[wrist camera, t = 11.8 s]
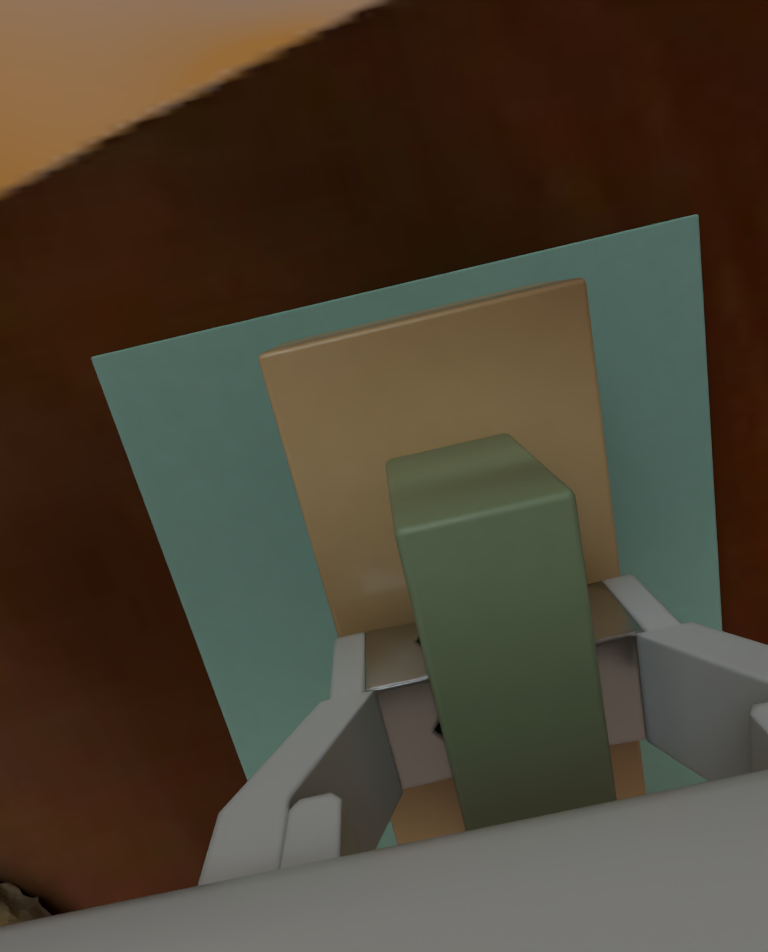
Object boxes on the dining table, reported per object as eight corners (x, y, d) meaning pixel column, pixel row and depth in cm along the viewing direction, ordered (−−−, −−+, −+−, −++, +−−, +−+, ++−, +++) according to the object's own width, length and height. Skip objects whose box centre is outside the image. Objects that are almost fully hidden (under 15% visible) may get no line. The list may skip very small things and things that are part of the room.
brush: (286, 340, 12) (198, 379, 6) (520, 284, 12) (706, 260, 5) (407, 783, 15) (438, 1123, 9) (589, 745, 15) (752, 1063, 9)
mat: (102, 355, 13) (88, 357, 12) (683, 217, 12) (701, 212, 12) (341, 1012, 19) (340, 1037, 18) (729, 936, 19) (742, 958, 18)
